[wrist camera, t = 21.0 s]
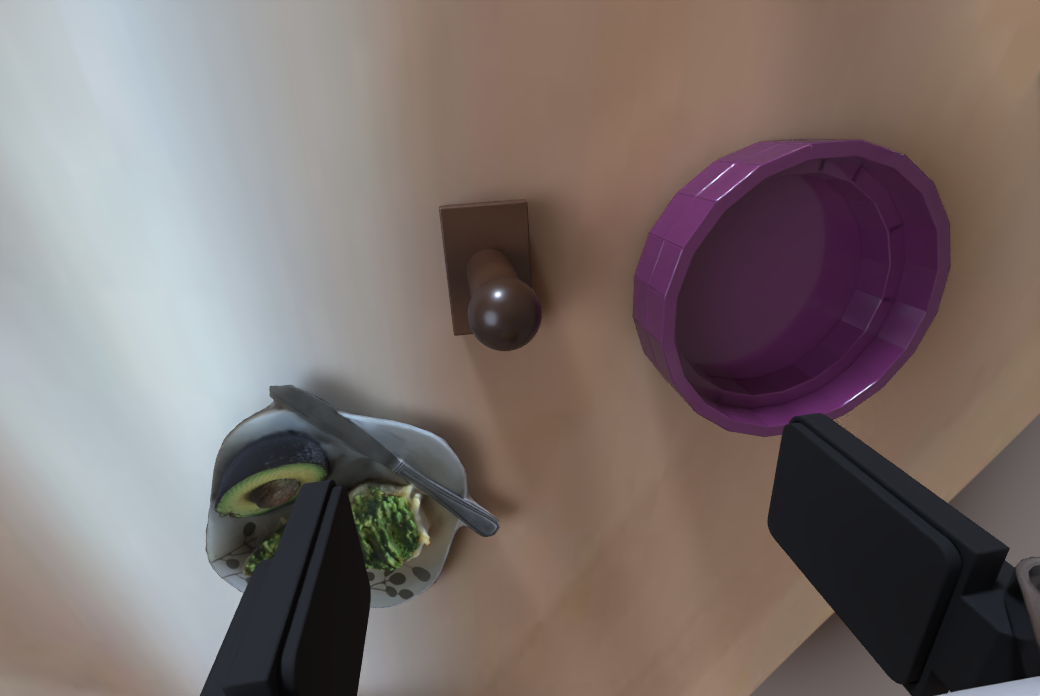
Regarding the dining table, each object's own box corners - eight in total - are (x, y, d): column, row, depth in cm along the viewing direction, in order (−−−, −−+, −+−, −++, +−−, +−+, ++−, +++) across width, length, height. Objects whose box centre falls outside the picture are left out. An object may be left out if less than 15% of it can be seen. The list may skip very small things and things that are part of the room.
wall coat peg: (439, 202, 29) (438, 240, 19) (520, 196, 30) (565, 229, 19) (453, 322, 32) (459, 413, 22) (527, 314, 33) (569, 399, 22)
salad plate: (530, 423, 36) (542, 461, 32) (460, 604, 42) (463, 657, 37) (237, 358, 31) (205, 393, 27) (204, 574, 37) (174, 631, 33)
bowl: (632, 150, 30) (672, 153, 25) (902, 130, 32) (990, 130, 27) (625, 409, 37) (655, 453, 32) (847, 380, 39) (908, 417, 34)
